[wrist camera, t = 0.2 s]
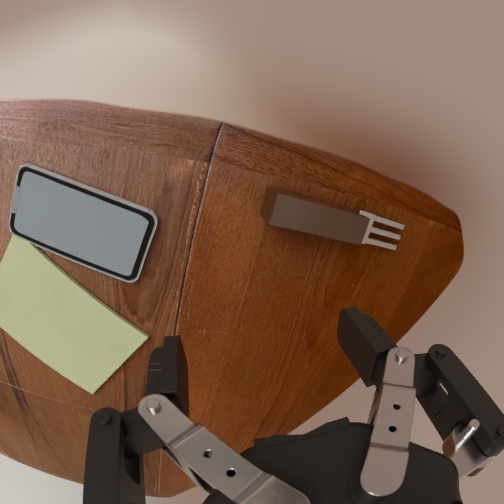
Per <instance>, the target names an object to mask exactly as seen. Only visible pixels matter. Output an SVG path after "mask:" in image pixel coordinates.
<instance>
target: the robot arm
mask: <svg viewBox="0 0 504 504" xmlns="http://www.w3.org/2000/svg"><path fill="white" fill-rule="evenodd" d="M337 337H338V341H339V344H340V346H341V347H342V349H343V350H344V352H345V353H346V355H347V357H348V358H349V360H350V361H351V363H352V364H353V366H354V368H355V369H356V371H357V372H358V374H359V376H360V377H361V379H362V380H363V382H364V383H365V385H366V387H369V386H372V385H375V386H376V387H377V388H376V391H375V395H374V399H373V403H372V407H371V411H370V415H369V419H368V422H367V424H365V423H359V422H351V423H350V422H349V419H348V418H347V417H345V418H342V419H339V420H335V421H332V422H328V423H325V424H324V425H322V426H320V427H318V428H316V429H314V430H312V431H310V432H309V433H306V434H303V435H276V436H271V437H266V438H260V439H254V446H253V447H250V448H248V449H246V450H245V451H243V452H242V453H240V454H238V453H237V452H235V451H234V450H233V449H231V448H230V447H229V446H228V445H226V444H225V443H224V442H222V441H221V440H220V439H219V438H217V437H216V436H215V435H214V434H213V433H211V432H210V431H209V430H208V429H207V428H205V427H204V426H203V425H201V424H197V425H196V424H195V423H193V422H192V421H191V420H190V419H189V394H188V366H187V360H186V356H185V352H184V349H183V345H182V341H181V337H180V335H176V336H166V337H164V343H163V347H161V348H155V349H154V351H153V352H152V354H151V355H150V361H149V368H148V376H147V384H146V393H145V397H144V398H143V399H142V400H141V401H140V402H139V404H138V406H137V407H136V408H134V409H131V410H128V411H125V412H121V413H119V412H118V411H117V410H115V409H113V408H108V407H107V408H102V409H99V410H97V411H96V412H95V413H94V414H93V416H92V418H91V422H90V429H89V436H88V444H87V453H86V463H85V474H84V489H83V504H146V502H145V488H144V468H143V454H145V453H148V452H151V451H154V450H157V449H162V450H163V451H164V452H165V453H166V454H167V455H168V456H169V457H170V458H171V459H172V460H173V461H174V462H175V463H176V464H177V465H178V466H179V467H180V468H181V469H182V470H183V471H184V472H185V473H186V474H187V475H188V477H189V478H190V479H191V480H192V481H193V482H194V483H195V484H196V485H197V486H198V487H199V488H200V489H201V490H203V491H204V492H205V493H206V494H207V495H208V497H207V498H206V500H205V501H204V502H203V504H463V503H462V500H461V497H460V492H459V480H461V479H463V478H464V477H466V476H474V475H476V474H478V473H479V472H480V471H481V470H482V469H483V468H484V467H486V466H487V465H488V464H489V463H490V462H491V461H492V460H493V459H494V458H495V457H496V456H497V455H498V454H499V453H500V452H501V451H502V450H503V449H504V414H503V413H502V412H501V410H500V409H499V408H498V407H497V405H496V404H495V403H494V401H493V400H492V399H491V397H490V396H489V395H488V394H487V392H486V391H485V390H484V389H483V387H482V386H481V385H480V384H479V382H478V381H477V380H476V379H475V377H474V376H473V375H472V374H471V373H470V371H469V370H468V369H467V368H466V367H465V366H464V364H463V363H462V362H461V361H460V359H459V358H458V357H457V356H456V355H455V354H454V353H453V351H452V350H451V349H450V348H449V347H447V346H445V345H442V344H435V345H432V346H431V347H430V348H429V351H428V353H424V354H413V353H412V351H410V350H409V349H407V348H404V347H397V345H396V344H395V343H394V342H393V341H392V340H391V338H390V337H389V336H388V335H387V334H386V332H385V331H383V329H382V328H381V327H380V326H379V324H378V323H377V322H376V321H375V320H374V319H373V318H372V317H370V316H368V315H366V314H363V315H362V313H361V312H360V311H359V310H358V309H357V308H356V307H351V308H347V309H342V310H341V311H340V316H339V324H338V332H337ZM440 383H442V385H443V386H444V388H446V390H447V392H448V395H447V394H446V392H445V391H444V390H443V388H442V387H441V386H440ZM415 396H416V398H417V399H418V401H419V402H420V404H421V406H422V407H423V409H424V410H425V412H426V413H427V415H428V417H429V418H430V420H431V422H432V423H433V425H434V426H435V428H436V430H437V431H438V433H439V435H440V436H441V438H442V440H443V441H444V442H443V446H442V450H443V452H444V453H443V454H441V453H438V452H435V451H433V450H430V449H427V448H425V447H422V446H420V445H417V444H415V443H412V442H410V441H409V439H410V433H411V426H412V419H413V412H414V403H415Z"/></svg>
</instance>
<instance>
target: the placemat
mask: <svg viewBox="0 0 504 504" xmlns="http://www.w3.org/2000/svg"><path fill="white" fill-rule="evenodd" d="M0 327H1V328H2V329H3V330H5V331H6V332H7V333H8V334H9V335H10V336H11V337H13V338H14V339H15V340H16V341H17V342H19V343H20V344H21V345H22V346H24V347H25V348H26V349H27V350H29V351H30V352H31V353H32V354H34V355H35V356H36V357H38V358H39V359H40V360H42V361H43V362H44V363H46V364H47V365H49V366H50V367H51V368H53V369H54V370H56V371H57V372H59V373H60V374H61V375H63V376H64V377H66V378H67V379H69V380H70V381H72V382H74V383H75V384H77V385H78V386H80V387H81V388H83V389H85V390H86V391H88V392H90V393H91V394H93V393H94V392H95V391H96V390H97V389H98V388H99V387H100V386H101V385H102V384H103V383H104V382H105V381H106V380H107V379H108V378H109V377H110V376H111V375H112V374H113V373H114V372H115V371H116V370H117V369H118V368H119V367H120V366H121V365H122V364H123V363H124V361H125V360H126V359H127V358H128V357H129V356H130V355H131V354H132V353H133V352H134V351H135V350H136V349H137V348H138V347H139V346H140V345H141V344H142V343H143V342H144V341H145V340H146V339H147V338H148V334H146V333H145V332H143V331H142V330H140V329H139V328H138V327H136V326H135V325H133V324H132V323H130V322H129V321H128V320H126V319H125V318H123V317H122V316H121V315H119V314H118V313H117V312H115V311H114V310H112V309H111V308H110V307H108V306H107V305H106V304H104V303H103V302H102V301H101V300H99V299H98V298H97V297H95V296H94V295H93V294H92V293H90V292H89V291H88V290H87V289H85V288H84V287H83V286H82V285H80V284H79V283H78V282H77V281H75V280H74V279H73V278H72V277H71V276H69V275H68V274H67V273H66V272H65V271H64V270H62V269H61V268H60V267H59V266H58V265H57V264H56V263H54V262H53V261H52V260H51V259H50V258H49V257H48V256H47V255H46V254H44V253H43V252H42V251H41V250H40V249H39V248H38V247H37V246H36V245H34V244H31V243H29V242H27V241H25V240H22V239H20V238H18V237H16V236H14V235H13V236H12V238H11V240H10V242H9V245H8V247H7V249H6V252H5V254H4V257H3V259H2V262H1V264H0Z"/></svg>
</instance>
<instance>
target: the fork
mask: <svg viewBox="0 0 504 504" xmlns="http://www.w3.org/2000/svg"><path fill="white" fill-rule="evenodd" d="M261 215H262V217H263V218H264V219H265V220H266V222H267V223H268V224H269V225H272V226H277V227H282V228H286V229H291V230H295V231H300V232H305V233H309V234H314V235H318V236H323V237H327V238H331V239H336V240H340V241H344V242H349V243H353V244H357V245H361V244H366V243H368V244H372V245H376V246H380V247H384V248H388V249H392V250H396V247H397V245H396V244H394V243H393V242H389V241H386V240H382V239H378V238H374V237H371V236H369V233H370V232H372V233H375V234H379V235H383V236H386V237H390V238H393V239H397V240H400V237H401V235H400V234H398V233H396V232H393V231H390V230H387V229H383V228H380V227H377V226H373V222H374V221H376V222H379V223H383V224H386V225H389V226H392V227H395V228H398V229H402V230H403V229H404V226H405V225H404V224H402V223H400V222H398V221H395V220H392V219H389V218H386V217H383V216H380V215H377V214H374V213H372V212H370V211H367V210H364V209H361V208H358V207H355V208H354V209H351V208H347V207H344V206H340V205H337V204H333V203H330V202H326V201H323V200H319V199H316V198H312V197H308V196H305V195H301V194H297V193H293V192H289V191H285V190H281V189H277V188H273V187H269V186H268V189H267V192H266V196H265V200H264V203H263V207H262V210H261Z"/></svg>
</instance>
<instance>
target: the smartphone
mask: <svg viewBox="0 0 504 504" xmlns="http://www.w3.org/2000/svg"><path fill="white" fill-rule="evenodd" d="M157 223H158V217H157V215H156V213H155V212H154V211H153V210H151V209H149V208H146V207H143V206H141V205H138V204H136V203H133V202H130V201H128V200H125V199H123V198H120V197H117V196H115V195H112V194H109V193H107V192H104V191H102V190H99V189H96V188H94V187H91V186H88V185H86V184H83V183H81V182H78V181H75V180H73V179H70V178H67V177H65V176H62V175H59V174H57V173H54V172H51V171H49V170H46V169H44V168H41V167H38V166H36V165H33V164H30V163H27V164H24V165H22V166H21V167H20V168H19V169H18V172H17V176H16V181H15V186H14V191H13V197H12V203H11V210H10V217H9V229H10V231H11V233H12V234H13V235H14V236H16V237H18V238H20V239H22V240H25V241H27V242H29V243H31V244H34V245H36V246H38V247H40V248H43V249H45V250H47V251H49V252H52V253H54V254H57V255H59V256H61V257H64V258H66V259H68V260H71V261H73V262H76V263H78V264H81V265H83V266H86V267H88V268H91V269H93V270H96V271H98V272H101V273H104V274H106V275H109V276H112V277H114V278H117V279H120V280H122V281H125V282H129V283H130V282H135V281H136V280H137V279H138V278H139V275H140V272H141V270H140V269H142V266H143V263H144V260H145V258H144V257H146V255H145V254H147V252H148V249H149V246H150V243H151V240H152V237H153V235H154V232H155V229H156V226H157Z"/></svg>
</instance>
